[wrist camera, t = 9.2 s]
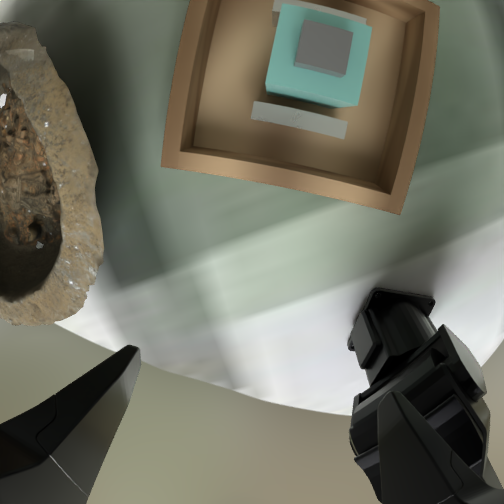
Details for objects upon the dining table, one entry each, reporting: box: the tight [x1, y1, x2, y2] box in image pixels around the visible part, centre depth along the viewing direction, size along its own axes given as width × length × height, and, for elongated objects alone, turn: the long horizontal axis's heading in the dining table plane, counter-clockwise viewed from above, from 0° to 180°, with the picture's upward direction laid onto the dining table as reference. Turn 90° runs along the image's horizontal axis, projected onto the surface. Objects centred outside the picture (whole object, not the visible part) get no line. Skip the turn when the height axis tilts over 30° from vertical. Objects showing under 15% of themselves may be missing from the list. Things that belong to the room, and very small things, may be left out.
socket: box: [251, 0, 367, 139], centre depth 14 cm, size 5×7×3 cm
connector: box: [265, 3, 372, 109], centre depth 12 cm, size 4×4×7 cm
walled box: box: [161, 0, 440, 215], centre depth 14 cm, size 14×14×4 cm
